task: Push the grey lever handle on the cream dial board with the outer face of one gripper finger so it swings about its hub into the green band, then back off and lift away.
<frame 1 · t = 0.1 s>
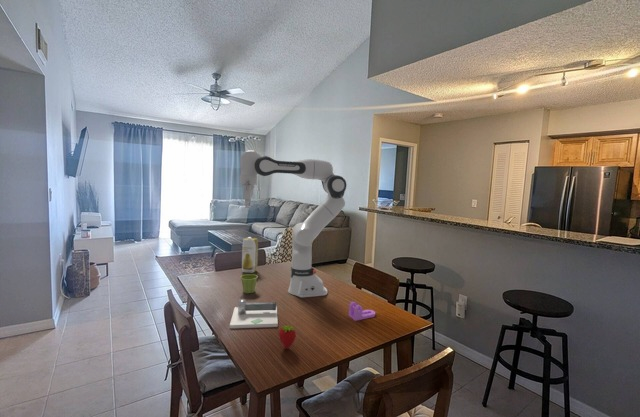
hand: (247, 206, 162), 48 cm above the table, tool pointing down, fingers open, 8 cm apart
grey lever handle: (257, 306, 138), point 5 cm above the table, hinge at 0.0°
strawberry: (286, 348, 113), on the table
bracket: (363, 316, 144), on the table
juice carton: (249, 271, 204), on the table
dial board: (255, 318, 136), on the table
plant pot: (248, 292, 168), on the table
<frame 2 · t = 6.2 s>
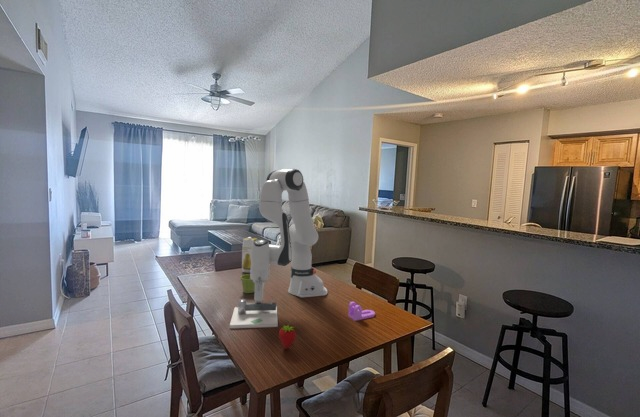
hand: (258, 302, 143), 4 cm above the table, tool pointing down, fingers open, 6 cm apart
grey lever handle: (257, 306, 138), point 5 cm above the table, hinge at 0.4°, touching gripper
everything else where it was.
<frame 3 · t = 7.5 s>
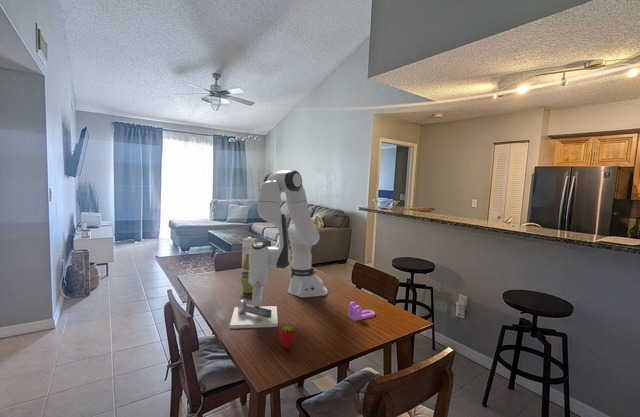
hand: (257, 307, 139), 4 cm above the table, tool pointing down, fingers open, 4 cm apart
grey lever handle: (254, 309, 134), point 5 cm above the table, hinge at 32.6°, touching gripper
everything else where it was.
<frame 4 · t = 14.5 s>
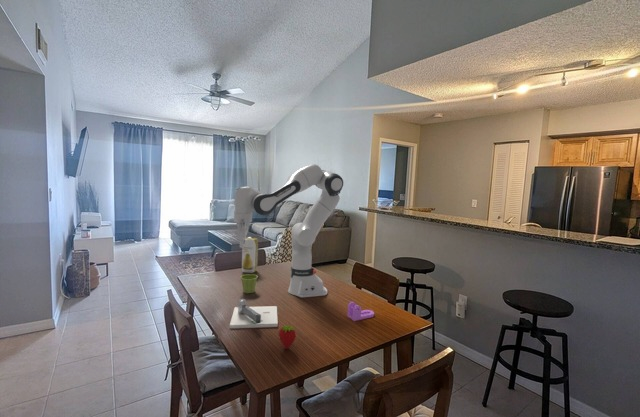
hand: (242, 245, 152), 29 cm above the table, tool pointing down, fingers open, 8 cm apart
grey lever handle: (249, 311, 132), point 5 cm above the table, hinge at 57.7°
everything else where it was.
at the end: grey lever handle at +58° (first picture: +0°); plant pot moved 0.2 cm from its start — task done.
